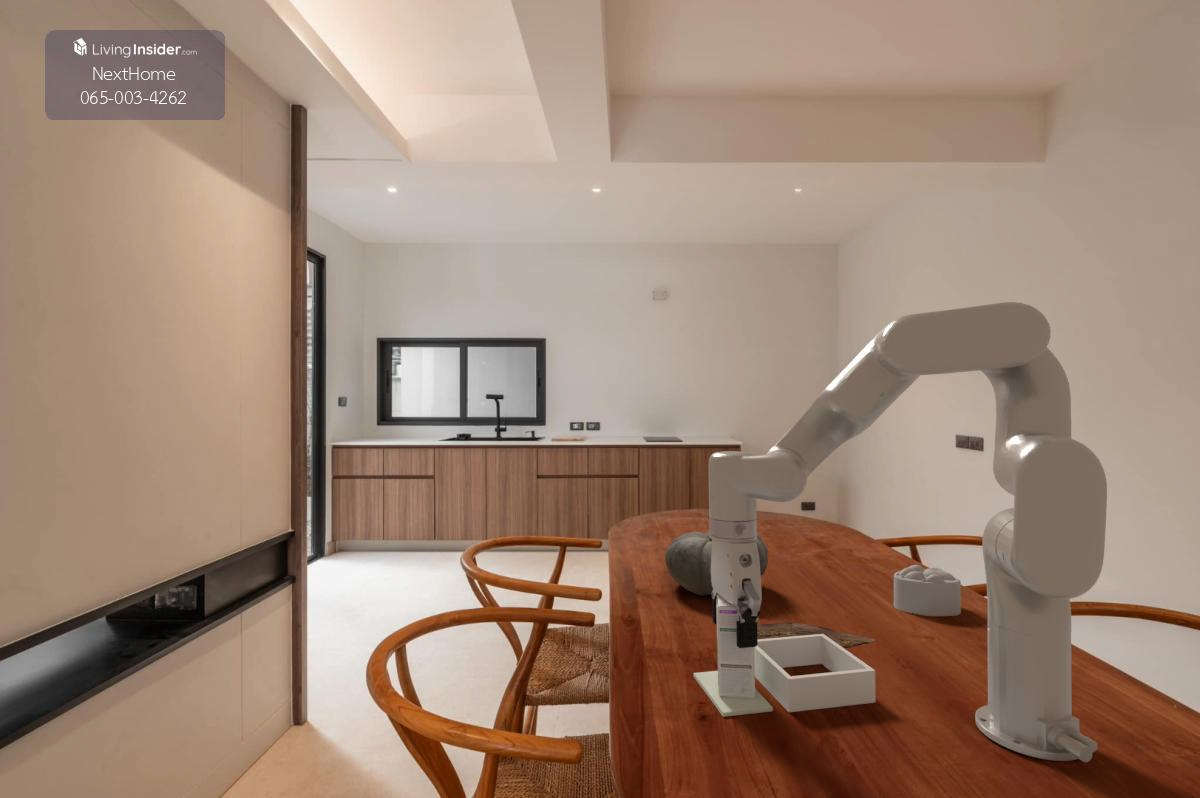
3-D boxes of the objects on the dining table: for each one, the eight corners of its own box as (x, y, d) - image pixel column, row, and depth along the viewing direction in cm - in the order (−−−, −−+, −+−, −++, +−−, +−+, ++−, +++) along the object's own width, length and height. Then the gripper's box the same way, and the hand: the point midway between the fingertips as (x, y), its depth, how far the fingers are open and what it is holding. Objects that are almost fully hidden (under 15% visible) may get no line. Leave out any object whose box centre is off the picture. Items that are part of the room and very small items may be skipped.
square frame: (875, 702, 92) (875, 670, 92) (788, 712, 89) (788, 679, 89) (823, 661, 106) (823, 633, 106) (747, 668, 104) (747, 640, 104)
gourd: (795, 585, 141) (780, 514, 141) (710, 620, 130) (694, 543, 131) (731, 569, 164) (718, 507, 164) (654, 597, 153) (641, 532, 153)
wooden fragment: (737, 640, 117) (737, 634, 117) (741, 620, 127) (741, 615, 127) (881, 657, 109) (881, 651, 109) (872, 634, 119) (872, 629, 119)
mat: (772, 711, 90) (772, 707, 90) (723, 716, 88) (723, 712, 88) (737, 672, 102) (737, 668, 102) (693, 676, 101) (693, 673, 101)
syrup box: (756, 700, 92) (755, 606, 92) (717, 697, 93) (716, 604, 93) (753, 682, 97) (752, 594, 97) (716, 679, 98) (715, 592, 98)
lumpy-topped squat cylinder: (967, 616, 128) (967, 576, 128) (908, 616, 128) (907, 576, 128) (938, 599, 138) (938, 562, 138) (884, 600, 138) (883, 563, 138)
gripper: (780, 539, 88) (781, 655, 88) (732, 516, 105) (734, 613, 105) (732, 542, 86) (734, 659, 86) (692, 519, 103) (693, 616, 103)
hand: (734, 634), depth 95 cm, fingers open, 9 cm apart
